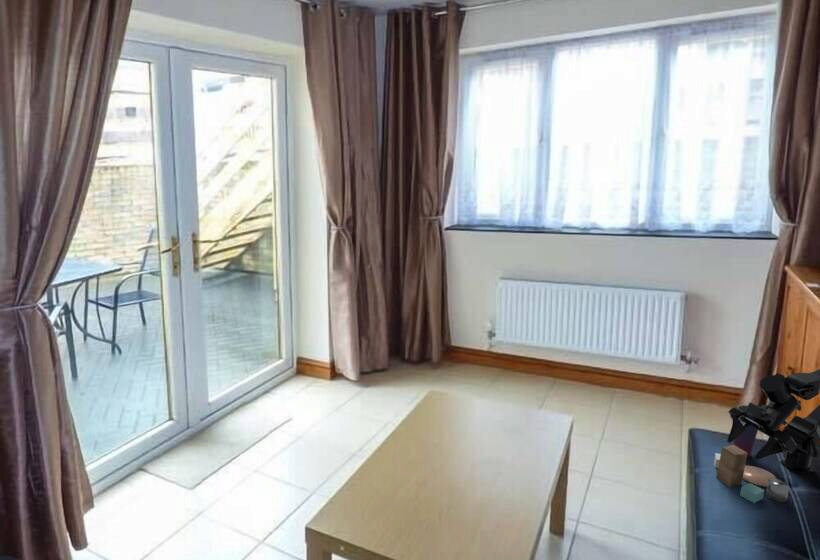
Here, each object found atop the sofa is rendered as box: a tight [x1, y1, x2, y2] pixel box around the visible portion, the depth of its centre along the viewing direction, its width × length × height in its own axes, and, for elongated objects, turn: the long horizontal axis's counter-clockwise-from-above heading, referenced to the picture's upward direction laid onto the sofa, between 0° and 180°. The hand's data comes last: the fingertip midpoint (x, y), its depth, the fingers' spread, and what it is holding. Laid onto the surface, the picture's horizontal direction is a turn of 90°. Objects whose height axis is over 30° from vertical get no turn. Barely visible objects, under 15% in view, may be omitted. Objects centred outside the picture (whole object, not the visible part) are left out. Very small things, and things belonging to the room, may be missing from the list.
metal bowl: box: [765, 478, 791, 503], centre depth 156 cm, size 5×5×4 cm
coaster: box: [742, 465, 778, 488], centre depth 165 cm, size 10×10×1 cm
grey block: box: [713, 452, 721, 469], centre depth 170 cm, size 4×4×3 cm
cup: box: [732, 404, 759, 458], centre depth 176 cm, size 7×7×15 cm
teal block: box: [739, 482, 766, 504], centre depth 155 cm, size 4×4×3 cm
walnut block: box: [716, 444, 748, 487], centre depth 161 cm, size 4×4×10 cm
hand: (741, 450), depth 161 cm, fingers open, 9 cm apart
